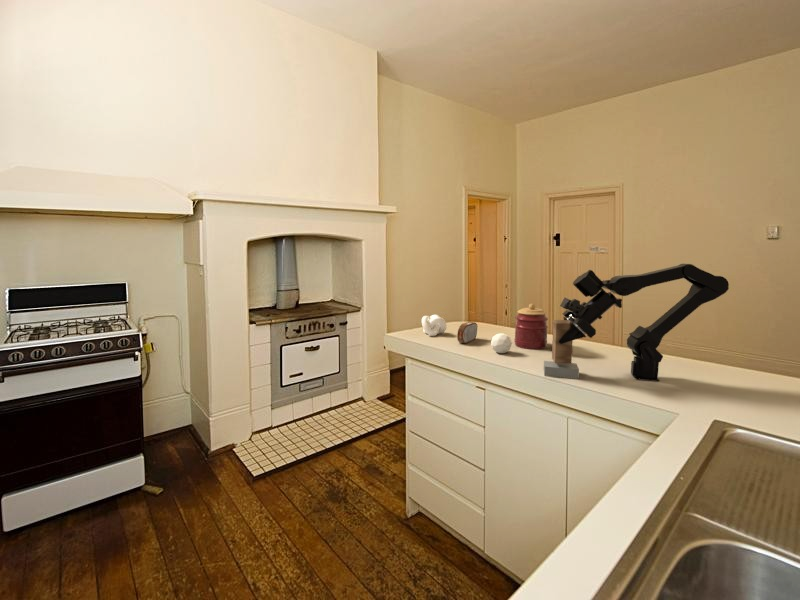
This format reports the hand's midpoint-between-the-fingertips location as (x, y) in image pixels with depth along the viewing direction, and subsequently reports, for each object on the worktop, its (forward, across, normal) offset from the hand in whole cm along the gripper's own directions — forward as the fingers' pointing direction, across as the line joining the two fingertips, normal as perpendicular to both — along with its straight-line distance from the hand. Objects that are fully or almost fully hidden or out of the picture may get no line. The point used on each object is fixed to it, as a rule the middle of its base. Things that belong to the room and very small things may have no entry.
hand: (557, 340), depth 130 cm
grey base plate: (+7, 0, +9) cm, 11 cm away
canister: (+10, -37, +6) cm, 39 cm away
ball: (+19, -24, -3) cm, 31 cm away
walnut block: (+4, 0, +6) cm, 7 cm away
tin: (+28, -41, -12) cm, 51 cm away
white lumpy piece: (+39, -53, -23) cm, 70 cm away
